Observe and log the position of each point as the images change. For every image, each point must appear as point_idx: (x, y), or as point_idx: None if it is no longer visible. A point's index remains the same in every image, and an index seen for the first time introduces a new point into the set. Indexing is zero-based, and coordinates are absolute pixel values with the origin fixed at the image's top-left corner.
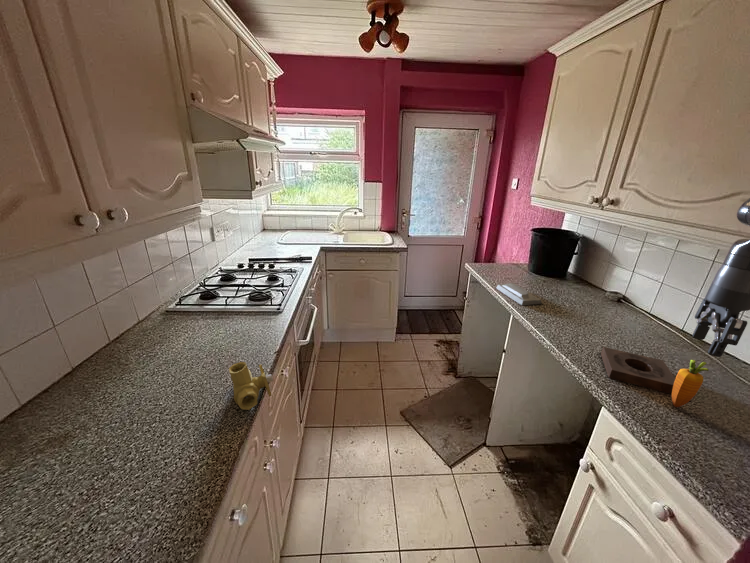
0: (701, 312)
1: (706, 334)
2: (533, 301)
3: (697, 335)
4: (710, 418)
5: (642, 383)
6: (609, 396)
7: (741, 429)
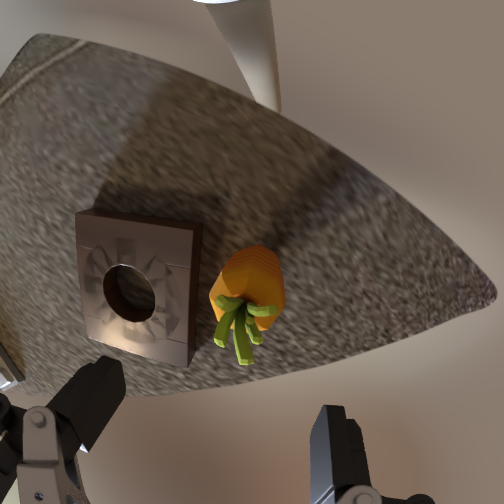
0: (10, 472)
1: (99, 381)
2: (6, 362)
3: (114, 395)
4: (280, 184)
5: (194, 300)
6: (271, 376)
7: (300, 129)
